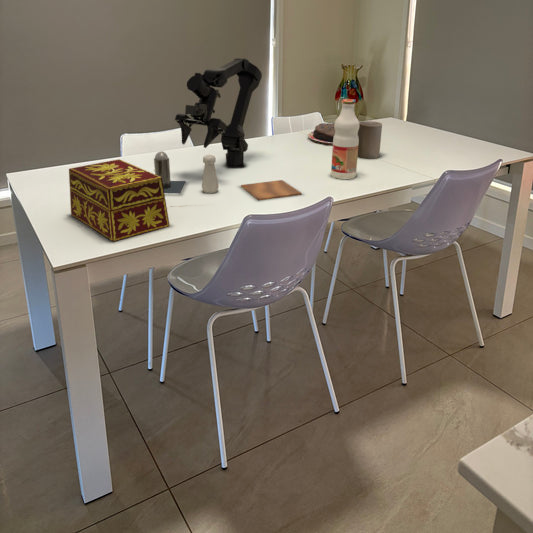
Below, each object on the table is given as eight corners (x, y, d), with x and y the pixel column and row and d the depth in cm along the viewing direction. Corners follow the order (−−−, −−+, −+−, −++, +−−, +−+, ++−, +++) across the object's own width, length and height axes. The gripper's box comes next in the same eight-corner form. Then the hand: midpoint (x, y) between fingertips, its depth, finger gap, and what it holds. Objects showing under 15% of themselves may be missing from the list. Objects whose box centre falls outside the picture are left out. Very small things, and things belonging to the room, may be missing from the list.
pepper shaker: (170, 184, 209) (168, 149, 204) (170, 188, 204) (168, 153, 199) (156, 184, 208) (153, 150, 203) (155, 189, 204) (153, 154, 198)
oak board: (281, 181, 215) (281, 180, 215) (301, 194, 202) (301, 192, 201) (241, 186, 209) (240, 185, 209) (258, 200, 196) (258, 198, 196)
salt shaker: (202, 190, 205) (200, 153, 199) (218, 190, 205) (217, 153, 200) (201, 195, 200) (200, 158, 194) (218, 195, 200) (217, 157, 194)
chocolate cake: (371, 146, 263) (373, 132, 260) (309, 146, 263) (310, 131, 260) (363, 132, 288) (364, 119, 285) (306, 131, 288) (306, 118, 285)
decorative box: (70, 215, 182) (63, 167, 175) (124, 202, 193) (120, 157, 186) (112, 242, 163) (107, 190, 157) (170, 226, 174) (166, 177, 168)
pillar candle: (353, 157, 246) (356, 121, 240) (359, 152, 254) (362, 116, 248) (376, 160, 243) (380, 123, 236) (381, 154, 251) (385, 118, 244)
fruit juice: (357, 179, 218) (363, 102, 206) (332, 179, 218) (336, 102, 206) (354, 172, 226) (360, 97, 214) (329, 172, 226) (334, 97, 214)
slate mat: (186, 182, 213) (186, 181, 212) (180, 195, 200) (180, 193, 200) (147, 181, 213) (147, 180, 213) (139, 194, 200) (139, 192, 200)
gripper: (172, 91, 204) (159, 133, 203) (217, 96, 196) (204, 140, 195) (189, 105, 214) (176, 145, 213) (232, 110, 206) (220, 152, 205)
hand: (193, 145), depth 206 cm, fingers open, 9 cm apart
